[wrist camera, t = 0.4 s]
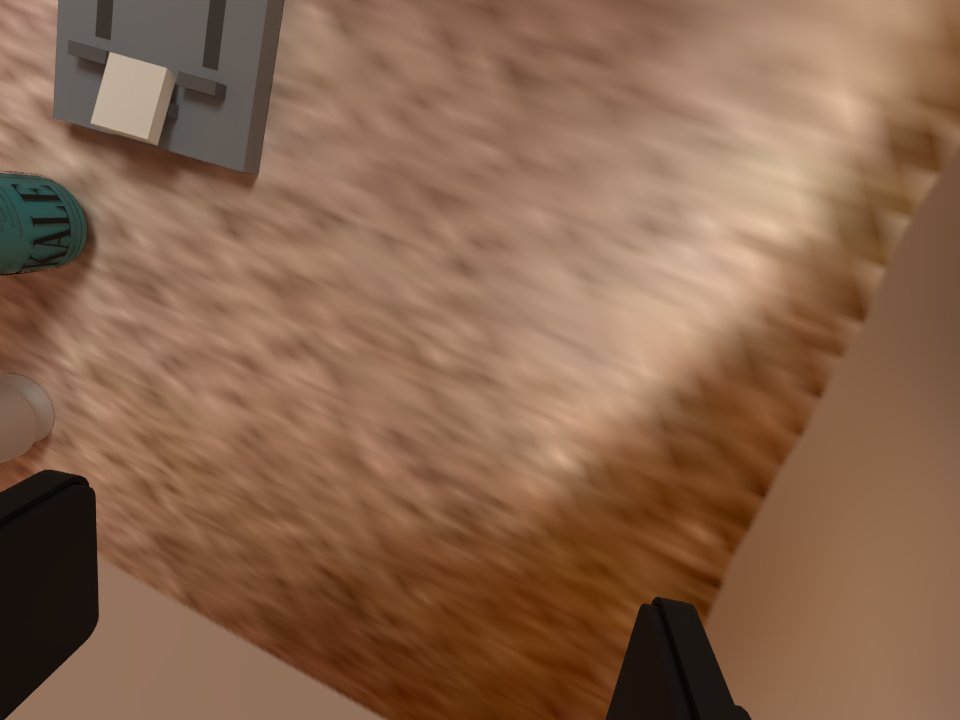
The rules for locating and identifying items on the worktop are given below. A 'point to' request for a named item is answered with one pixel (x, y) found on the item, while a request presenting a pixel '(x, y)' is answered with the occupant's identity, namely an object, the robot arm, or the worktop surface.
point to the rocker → (133, 98)
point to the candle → (22, 415)
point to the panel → (178, 68)
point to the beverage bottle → (38, 224)
